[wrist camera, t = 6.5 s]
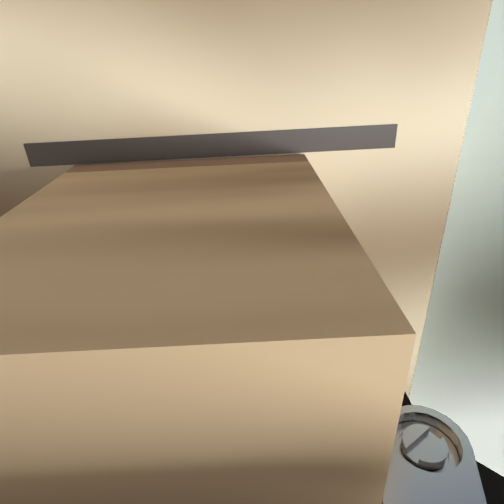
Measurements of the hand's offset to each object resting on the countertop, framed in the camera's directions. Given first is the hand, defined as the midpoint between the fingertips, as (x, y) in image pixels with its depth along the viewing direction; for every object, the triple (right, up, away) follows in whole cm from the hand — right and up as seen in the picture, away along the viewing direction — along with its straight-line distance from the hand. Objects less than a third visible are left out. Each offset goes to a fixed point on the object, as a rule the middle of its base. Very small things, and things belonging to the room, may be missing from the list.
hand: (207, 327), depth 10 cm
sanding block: (0, 0, 0) cm, 1 cm away
